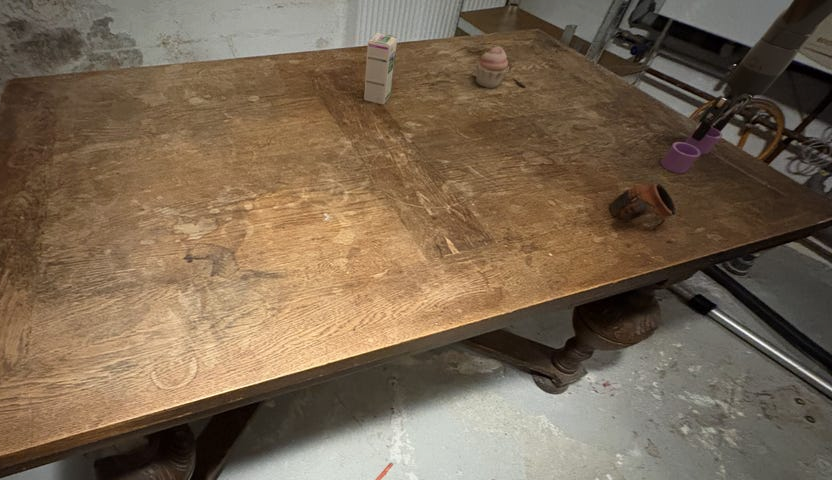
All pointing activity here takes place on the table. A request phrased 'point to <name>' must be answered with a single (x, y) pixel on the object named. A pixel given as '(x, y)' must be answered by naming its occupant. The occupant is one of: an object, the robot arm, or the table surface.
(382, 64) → the syrup box
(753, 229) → the table surface
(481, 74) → the cupcake
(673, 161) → the ramekin
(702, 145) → the ramekin
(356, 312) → the table surface
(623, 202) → the pottery mug
